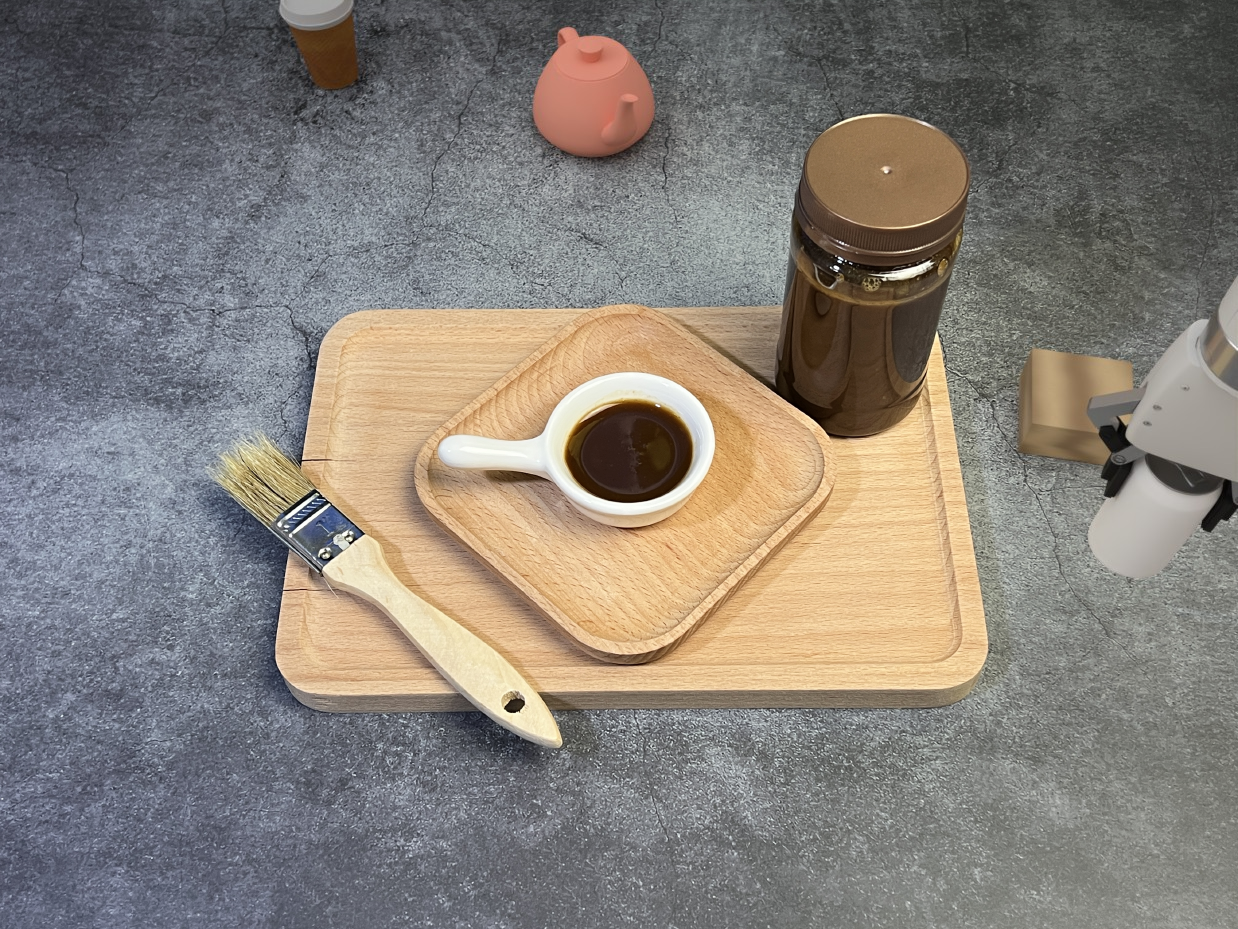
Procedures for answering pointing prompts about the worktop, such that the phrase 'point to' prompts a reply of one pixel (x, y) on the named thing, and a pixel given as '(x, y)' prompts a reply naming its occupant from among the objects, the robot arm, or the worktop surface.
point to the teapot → (592, 97)
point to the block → (1066, 403)
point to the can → (1151, 515)
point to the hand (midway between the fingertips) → (1159, 498)
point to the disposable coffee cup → (324, 39)
